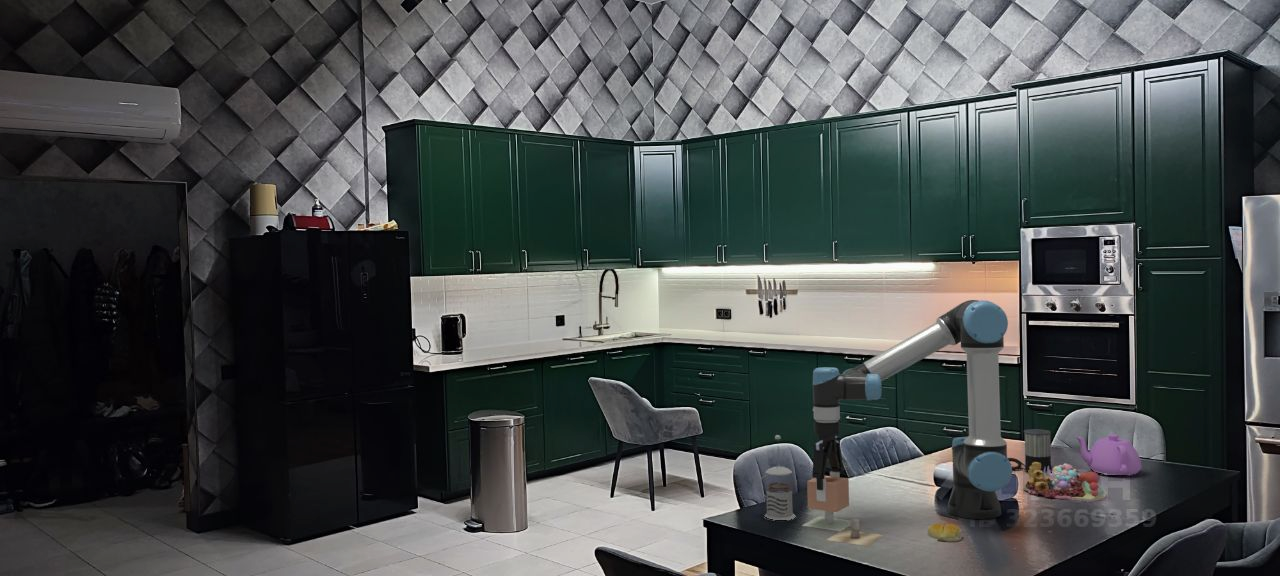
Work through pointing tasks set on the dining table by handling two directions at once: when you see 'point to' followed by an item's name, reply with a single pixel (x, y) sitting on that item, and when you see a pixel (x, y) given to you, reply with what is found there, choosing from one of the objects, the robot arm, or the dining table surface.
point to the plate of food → (1064, 483)
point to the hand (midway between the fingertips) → (828, 497)
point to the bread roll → (945, 532)
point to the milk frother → (1036, 449)
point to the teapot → (1111, 456)
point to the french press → (778, 494)
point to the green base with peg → (828, 522)
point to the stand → (855, 535)
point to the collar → (829, 494)
